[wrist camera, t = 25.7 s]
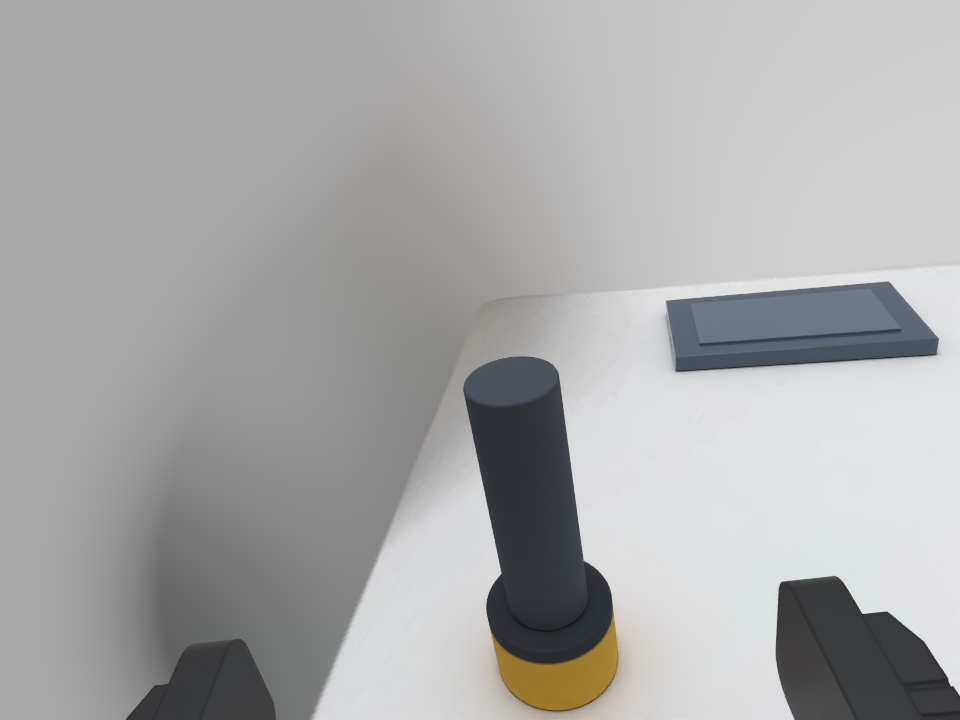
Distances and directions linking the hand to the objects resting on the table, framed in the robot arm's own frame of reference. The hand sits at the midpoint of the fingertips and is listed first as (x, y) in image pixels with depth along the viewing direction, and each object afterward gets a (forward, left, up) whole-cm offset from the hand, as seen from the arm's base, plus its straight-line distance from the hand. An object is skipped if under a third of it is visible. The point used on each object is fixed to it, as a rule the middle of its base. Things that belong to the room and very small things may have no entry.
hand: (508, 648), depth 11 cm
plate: (-7, +36, -13) cm, 39 cm away
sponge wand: (-6, +8, -13) cm, 17 cm away
